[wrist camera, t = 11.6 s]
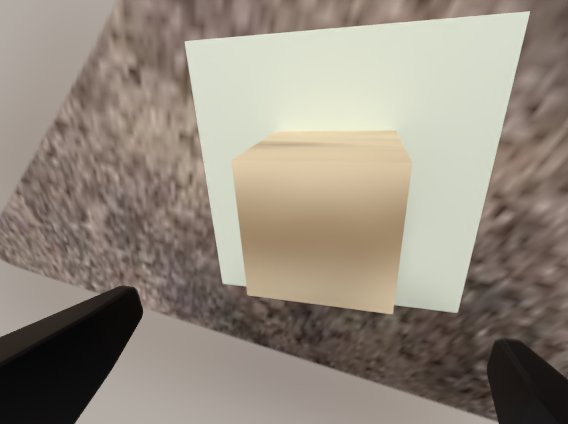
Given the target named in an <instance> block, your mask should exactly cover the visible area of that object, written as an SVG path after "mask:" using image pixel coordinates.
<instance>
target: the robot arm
mask: <svg viewBox="0 0 568 424" xmlns="http://www.w3.org/2000/svg"><path fill="white" fill-rule="evenodd" d="M142 315H143V308H142V304H141V301H140V298H139V294H138V291H137V289H136V288H134V287H130V286H119V287H116V288H114V289H112V290H109V291H107V292H105V293H102V294H100V295H98V296H95V297H93V298H91V299H89V300H86V301H84V302H81V303H79V304H77V305H74V306H72V307H70V308H67V309H65V310H63V311H61V312H58V313H56V314H53V315H51V316H49V317H47V318H44V319H42V320H40V321H37V322H35V323H32V324H30V325H28V326H25V327H23V328H21V329H18V330H16V331H14V332H11V333H9V334H7V335H4V336H2V337H0V424H75V422H76V421H77V419H78V418H79V417H80V415H81V413H82V412H83V411H84V409H85V408H86V406H87V405H88V404H89V402H90V401H91V399H92V398H93V396H94V395H95V393H96V392H97V390H98V389H99V388H100V386H101V385H102V383H103V382H104V380H105V379H106V378H107V376H108V374H109V373H110V371H111V370H112V368H113V367H114V365H115V363H116V361H117V360H118V358H119V356H120V355H121V353H122V351H123V350H124V348H125V346H126V344H127V342H128V341H129V339H130V337H131V336H132V334H133V332H134V330H135V329H136V327H137V325H138V323H139V322H140V320H141V318H142ZM487 375H488V380H489V384H490V388H491V392H492V397H493V401H494V405H495V409H496V414H497V418H498V422H499V424H568V379H567V378H565V377H564V376H563V375H562V374H561V373H559V372H558V371H557V370H556V369H554V368H553V367H552V366H551V365H550V364H548V363H547V362H546V361H545V360H544V359H542V358H541V357H540V356H539V355H537V354H536V353H535V352H534V351H533V350H531V349H530V348H529V347H528V346H527V345H525V344H524V343H523V342H521V341H519V340H514V339H507V338H497V339H496V340H495V342H494V345H493V348H492V351H491V354H490V357H489V360H488V364H487Z"/></svg>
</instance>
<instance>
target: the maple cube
mask: <svg viewBox="0 0 568 424" xmlns="http://www.w3.org/2000/svg"><path fill="white" fill-rule="evenodd" d="M231 161H232V170H233V178H234V186H235V195H236V203H237V211H238V220H239V228H240V236H241V245H242V253H243V261H244V270H245V278H246V286H247V295H250V296H257V297H265V298H272V299H280V300H288V301H295V302H303V303H310V304H318V305H326V306H333V307H341V308H348V309H356V310H364V311H371V312H379V313H386V314H393V310H394V302H395V295H396V287H397V279H398V271H399V263H400V255H401V247H402V240H403V232H404V224H405V216H406V208H407V200H408V193H409V185H410V177H411V169H412V162H411V159H410V157H409V155H408V153H407V151H406V149H405V147H404V145H403V143H402V141H401V139H400V137H399V135H398V133H397V131H396V130H361V131H276V132H274V133H273V134H271V135H269V136H268V137H266V138H265V139H263V140H262V141H260V142H259V143H257V144H255V145H254V146H252V147H251V148H249V149H248V150H246V151H245V152H243V153H241V154H240V155H238V156H237V157H235V158H234V159H232V160H231Z"/></svg>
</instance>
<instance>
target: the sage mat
mask: <svg viewBox="0 0 568 424" xmlns="http://www.w3.org/2000/svg"><path fill="white" fill-rule="evenodd" d="M529 14H530V11H529V12H518V13H506V14H495V15H483V16H472V17H460V18H448V19H437V20H425V21H414V22H402V23H391V24H379V25H368V26H356V27H344V28H333V29H321V30H310V31H298V32H287V33H275V34H264V35H252V36H240V37H229V38H217V39H206V40H194V41H185V47H186V53H187V60H188V66H189V72H190V79H191V85H192V91H193V98H194V104H195V110H196V117H197V123H198V130H199V136H200V142H201V149H202V155H203V161H204V168H205V174H206V180H207V187H208V193H209V199H210V206H211V212H212V219H213V225H214V231H215V238H216V244H217V250H218V257H219V263H220V269H221V276H222V282H223V284H230V285H238V286H246V278H245V270H244V261H243V253H242V245H241V236H240V228H239V220H238V211H237V203H236V195H235V186H234V178H233V170H232V161H231V160H232V159H234V158H235V157H237V156H238V155H240V154H241V153H243V152H245V151H246V150H248V149H249V148H251V147H252V146H254V145H255V144H257V143H259V142H260V141H262V140H263V139H265V138H266V137H268V136H269V135H271V134H273V133H274V132H276V131H361V130H396V131H397V133H398V135H399V137H400V139H401V141H402V143H403V145H404V147H405V149H406V151H407V153H408V155H409V157H410V159H411V162H412V169H411V177H410V185H409V193H408V200H407V208H406V216H405V224H404V232H403V240H402V247H401V255H400V263H399V271H398V279H397V287H396V295H395V302H394V305H398V306H406V307H414V308H422V309H430V310H438V311H446V312H454V313H458V309H459V305H460V301H461V297H462V293H463V288H464V284H465V280H466V276H467V272H468V268H469V263H470V259H471V255H472V251H473V247H474V243H475V239H476V234H477V230H478V226H479V222H480V218H481V214H482V209H483V205H484V201H485V197H486V193H487V189H488V185H489V180H490V176H491V172H492V168H493V164H494V160H495V155H496V151H497V147H498V143H499V139H500V135H501V130H502V126H503V122H504V118H505V114H506V110H507V106H508V101H509V97H510V93H511V89H512V85H513V81H514V76H515V72H516V68H517V64H518V60H519V56H520V52H521V47H522V43H523V39H524V35H525V31H526V27H527V22H528V18H529ZM246 287H247V286H246Z"/></svg>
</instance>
